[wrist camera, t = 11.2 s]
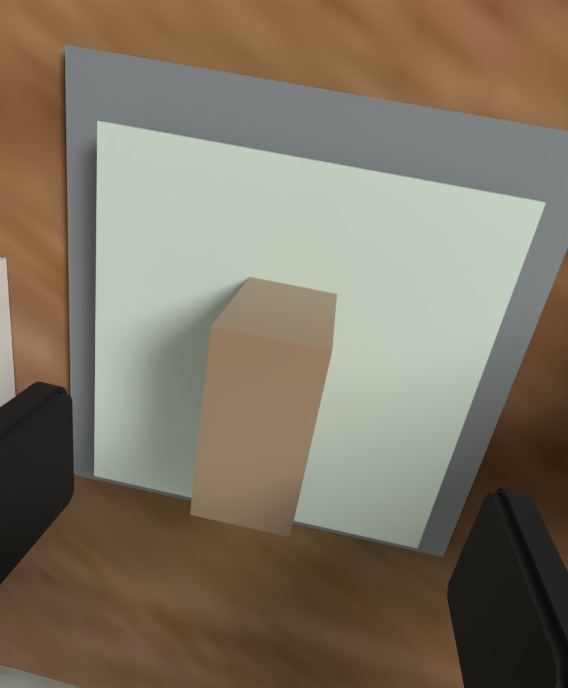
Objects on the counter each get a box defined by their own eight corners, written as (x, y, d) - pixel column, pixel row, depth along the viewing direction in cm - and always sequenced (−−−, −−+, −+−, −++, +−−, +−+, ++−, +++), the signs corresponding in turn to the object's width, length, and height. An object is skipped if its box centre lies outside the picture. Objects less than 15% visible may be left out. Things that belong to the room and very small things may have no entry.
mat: (603, 138, 15) (611, 138, 15) (441, 549, 22) (443, 557, 22) (72, 47, 16) (64, 44, 16) (77, 468, 23) (71, 474, 23)
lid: (525, 197, 16) (642, 226, 9) (411, 517, 21) (438, 669, 15) (122, 124, 16) (-16, 105, 10) (113, 451, 22) (19, 570, 16)
